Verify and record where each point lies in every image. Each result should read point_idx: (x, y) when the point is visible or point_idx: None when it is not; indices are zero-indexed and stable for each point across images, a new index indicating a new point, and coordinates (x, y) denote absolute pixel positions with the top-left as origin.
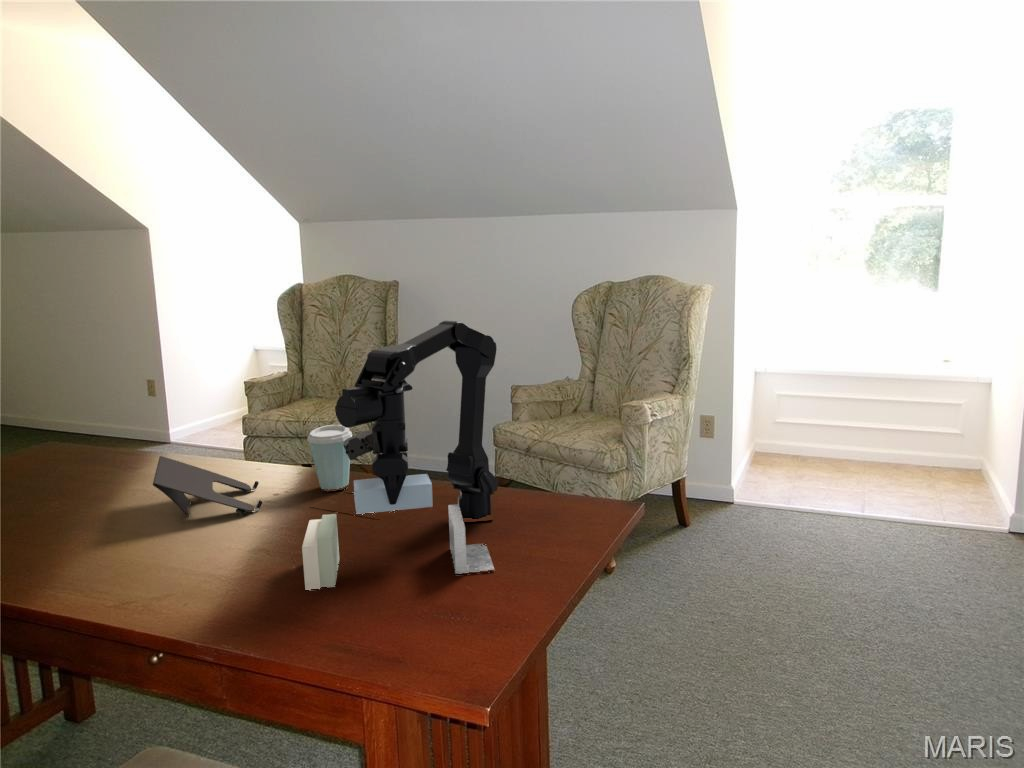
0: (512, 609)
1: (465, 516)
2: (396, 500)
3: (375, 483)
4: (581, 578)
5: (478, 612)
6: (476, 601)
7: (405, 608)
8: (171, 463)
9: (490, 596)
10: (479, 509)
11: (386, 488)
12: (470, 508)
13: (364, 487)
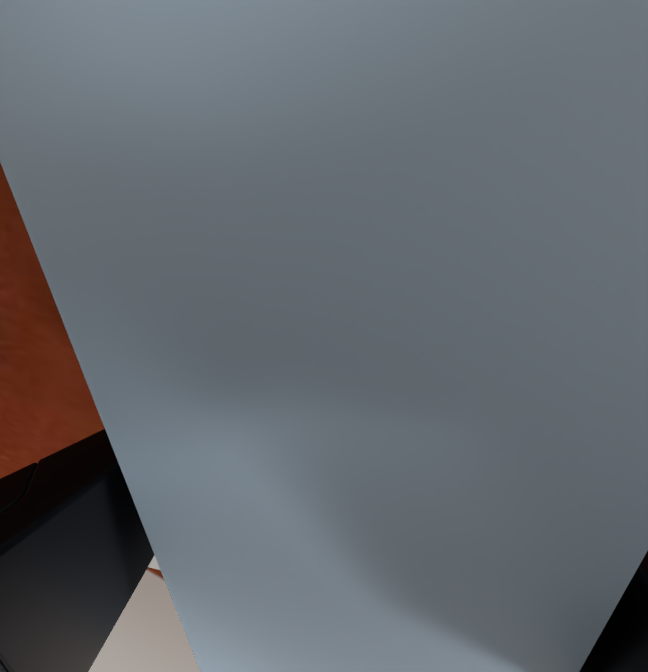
0: (34, 450)
1: None
2: None
3: (347, 402)
4: (159, 576)
5: (13, 395)
6: (59, 405)
7: (4, 244)
8: None
9: (83, 435)
10: None
11: (20, 478)
12: None
13: (137, 190)
